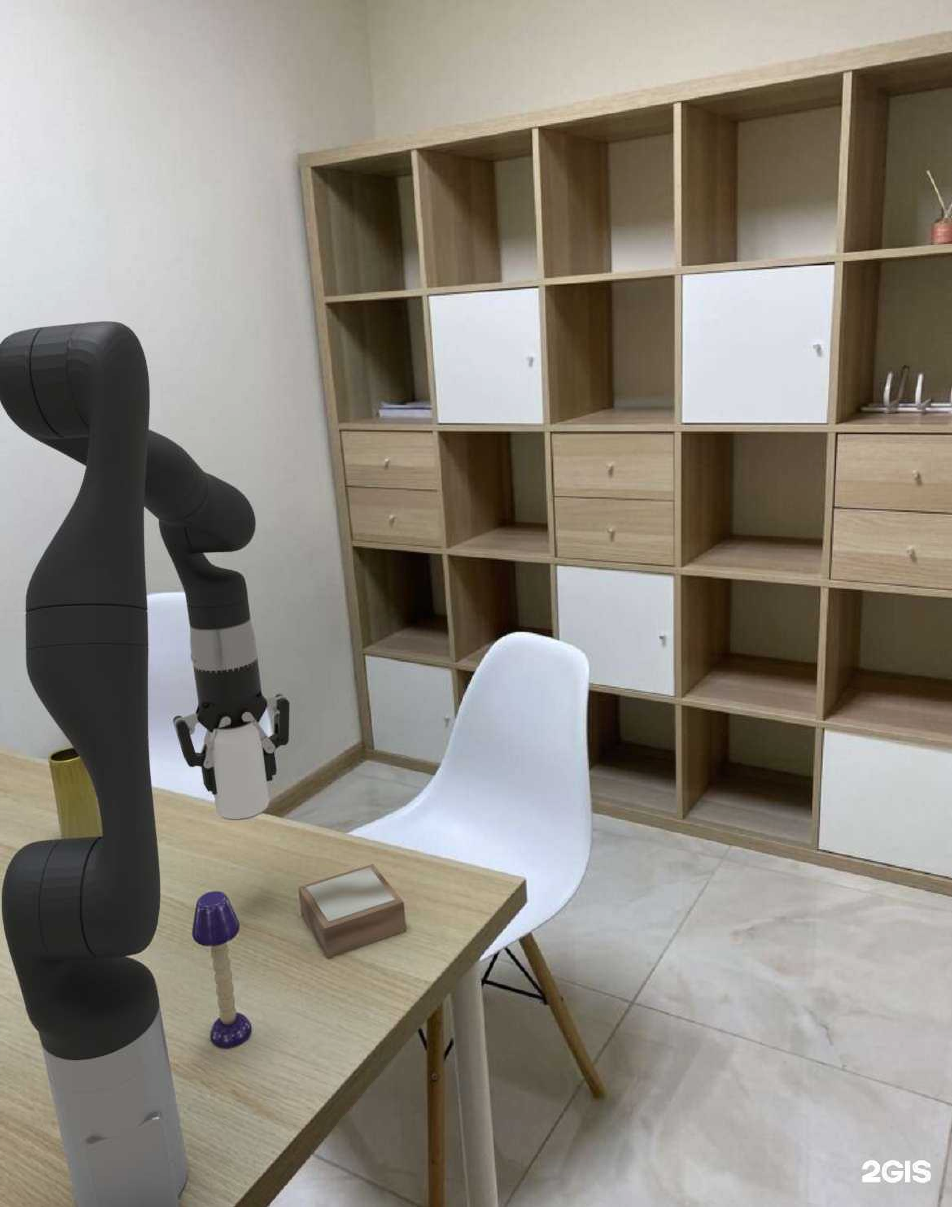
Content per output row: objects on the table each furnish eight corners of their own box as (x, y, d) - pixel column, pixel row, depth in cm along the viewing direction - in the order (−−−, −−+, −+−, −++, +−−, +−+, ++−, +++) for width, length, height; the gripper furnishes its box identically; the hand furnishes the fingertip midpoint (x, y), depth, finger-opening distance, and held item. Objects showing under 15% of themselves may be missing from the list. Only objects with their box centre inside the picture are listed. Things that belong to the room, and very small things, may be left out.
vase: (61, 838, 143) (44, 750, 139) (104, 827, 145) (89, 741, 141) (63, 857, 138) (45, 766, 134) (108, 846, 140) (92, 756, 136)
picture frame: (406, 930, 117) (403, 900, 116) (327, 958, 112) (324, 927, 111) (375, 890, 125) (372, 862, 124) (301, 915, 121) (298, 885, 120)
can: (205, 815, 119) (192, 725, 116) (240, 793, 125) (229, 707, 121) (246, 825, 116) (234, 733, 113) (280, 802, 122) (269, 713, 118)
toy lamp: (264, 1030, 101) (244, 892, 97) (230, 1058, 98) (208, 916, 93) (232, 1014, 104) (212, 879, 99) (198, 1041, 100) (176, 902, 96)
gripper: (169, 678, 109) (189, 812, 113) (292, 654, 115) (306, 782, 119) (157, 661, 115) (176, 788, 120) (275, 638, 121) (289, 760, 126)
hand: (241, 784), depth 120 cm, fingers closed on can, 6 cm apart
